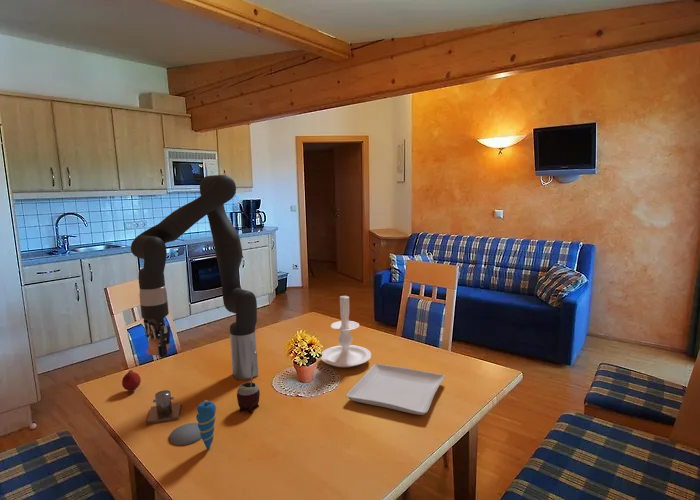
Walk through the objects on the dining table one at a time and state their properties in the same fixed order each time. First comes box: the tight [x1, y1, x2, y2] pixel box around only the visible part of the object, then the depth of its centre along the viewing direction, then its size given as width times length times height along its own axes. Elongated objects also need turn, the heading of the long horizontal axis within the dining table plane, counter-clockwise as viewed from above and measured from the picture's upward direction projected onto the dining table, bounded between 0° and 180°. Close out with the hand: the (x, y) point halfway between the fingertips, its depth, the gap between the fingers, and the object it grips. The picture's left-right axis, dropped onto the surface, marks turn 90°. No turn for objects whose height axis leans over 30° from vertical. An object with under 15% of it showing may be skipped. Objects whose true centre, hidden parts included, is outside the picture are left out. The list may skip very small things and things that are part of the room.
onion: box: [121, 369, 142, 392], centre depth 147 cm, size 6×6×8 cm
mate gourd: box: [236, 358, 261, 415], centre depth 134 cm, size 8×8×15 cm
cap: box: [146, 338, 171, 356], centre depth 128 cm, size 5×7×5 cm
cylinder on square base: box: [146, 389, 182, 425], centre depth 132 cm, size 9×9×7 cm
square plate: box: [345, 363, 446, 416], centre depth 142 cm, size 27×27×4 cm
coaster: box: [169, 422, 202, 446], centre depth 121 cm, size 10×10×1 cm
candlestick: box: [320, 295, 372, 368], centre depth 168 cm, size 21×25×28 cm
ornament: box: [195, 398, 217, 450], centre depth 113 cm, size 5×5×15 cm
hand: (159, 353), depth 129 cm, fingers closed on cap, 5 cm apart
